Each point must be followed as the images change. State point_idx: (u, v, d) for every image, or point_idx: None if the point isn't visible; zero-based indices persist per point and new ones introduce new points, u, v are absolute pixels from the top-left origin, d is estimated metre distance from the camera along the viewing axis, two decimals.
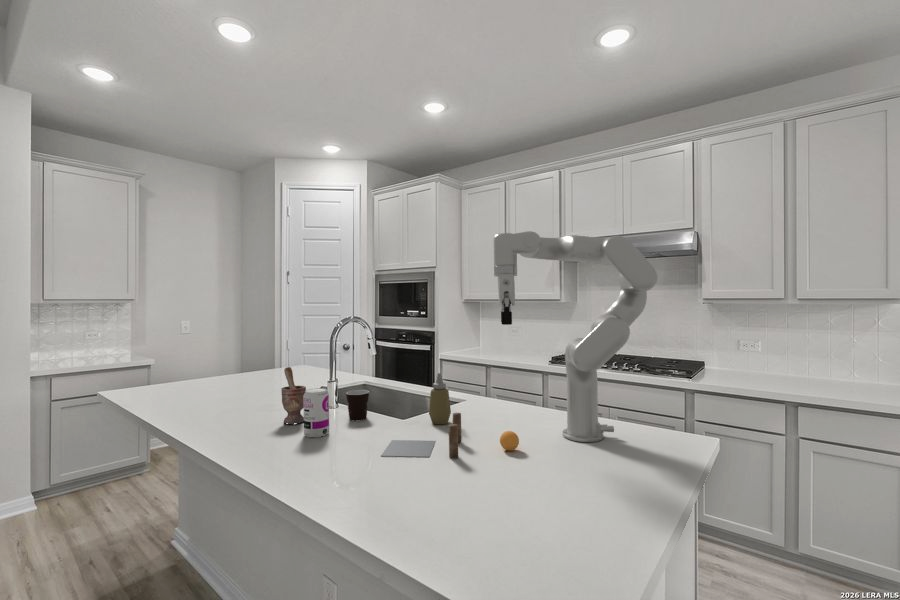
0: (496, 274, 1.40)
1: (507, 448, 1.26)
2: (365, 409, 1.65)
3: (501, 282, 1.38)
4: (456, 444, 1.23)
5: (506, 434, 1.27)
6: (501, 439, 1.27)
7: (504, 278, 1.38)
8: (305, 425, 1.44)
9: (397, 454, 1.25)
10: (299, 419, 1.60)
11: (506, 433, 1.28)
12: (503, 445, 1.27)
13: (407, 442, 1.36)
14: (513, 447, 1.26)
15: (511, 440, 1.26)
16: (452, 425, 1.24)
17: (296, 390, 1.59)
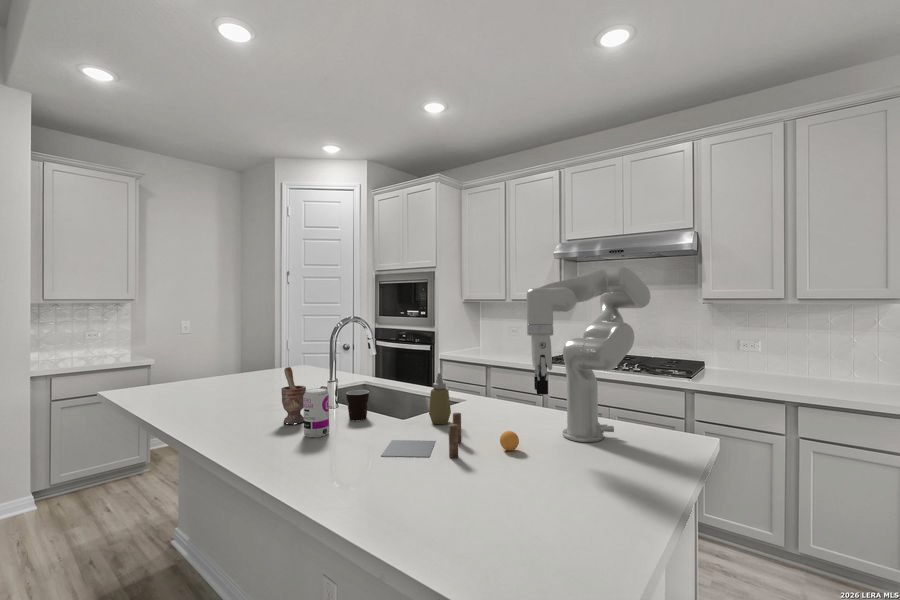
0: (530, 334, 1.26)
1: (507, 448, 1.26)
2: (365, 409, 1.65)
3: (536, 344, 1.23)
4: (456, 444, 1.23)
5: (506, 434, 1.27)
6: (501, 439, 1.27)
7: (540, 340, 1.23)
8: (305, 425, 1.44)
9: (397, 454, 1.25)
10: (299, 419, 1.60)
11: (506, 433, 1.28)
12: (503, 445, 1.27)
13: (407, 442, 1.36)
14: (513, 447, 1.26)
15: (511, 440, 1.26)
16: (452, 425, 1.24)
17: (296, 390, 1.59)
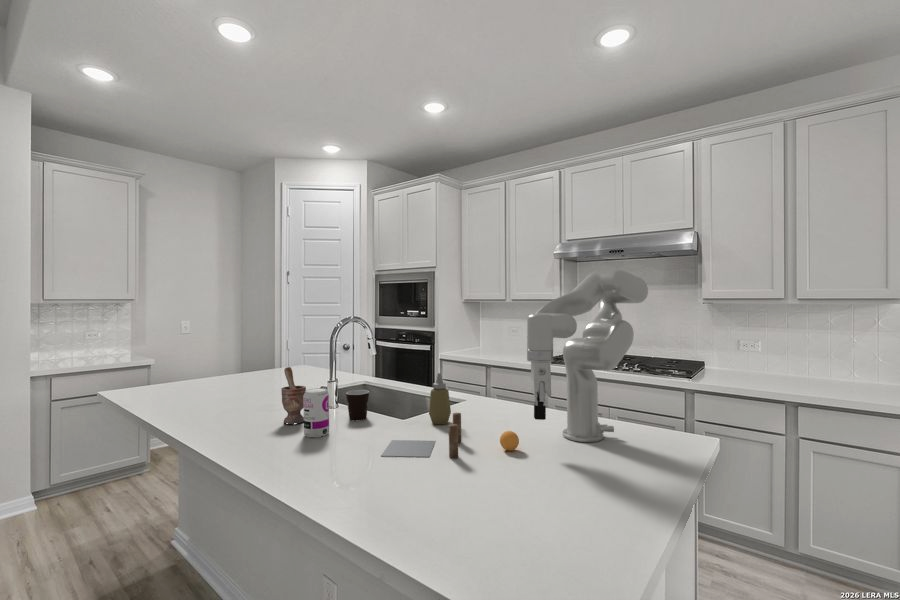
0: (530, 360, 1.26)
1: (507, 448, 1.26)
2: (365, 409, 1.65)
3: (536, 370, 1.23)
4: (456, 444, 1.23)
5: (506, 434, 1.27)
6: (501, 439, 1.27)
7: (539, 366, 1.23)
8: (305, 425, 1.44)
9: (397, 454, 1.25)
10: (299, 419, 1.60)
11: (506, 433, 1.28)
12: (503, 445, 1.27)
13: (407, 442, 1.36)
14: (513, 447, 1.26)
15: (511, 440, 1.26)
16: (452, 425, 1.24)
17: (296, 390, 1.59)
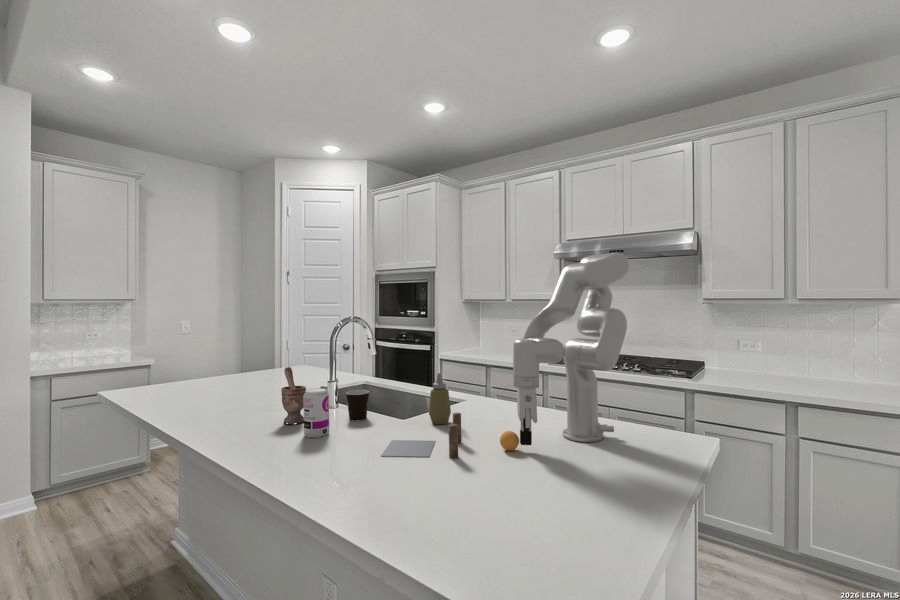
0: (516, 386, 1.26)
1: (507, 448, 1.26)
2: (365, 409, 1.65)
3: (522, 397, 1.23)
4: (456, 444, 1.23)
5: (506, 434, 1.27)
6: (501, 439, 1.27)
7: (525, 393, 1.23)
8: (305, 425, 1.44)
9: (397, 454, 1.25)
10: (299, 419, 1.60)
11: (506, 433, 1.28)
12: (503, 445, 1.27)
13: (407, 442, 1.36)
14: (513, 447, 1.26)
15: (511, 440, 1.26)
16: (452, 425, 1.24)
17: (296, 390, 1.59)
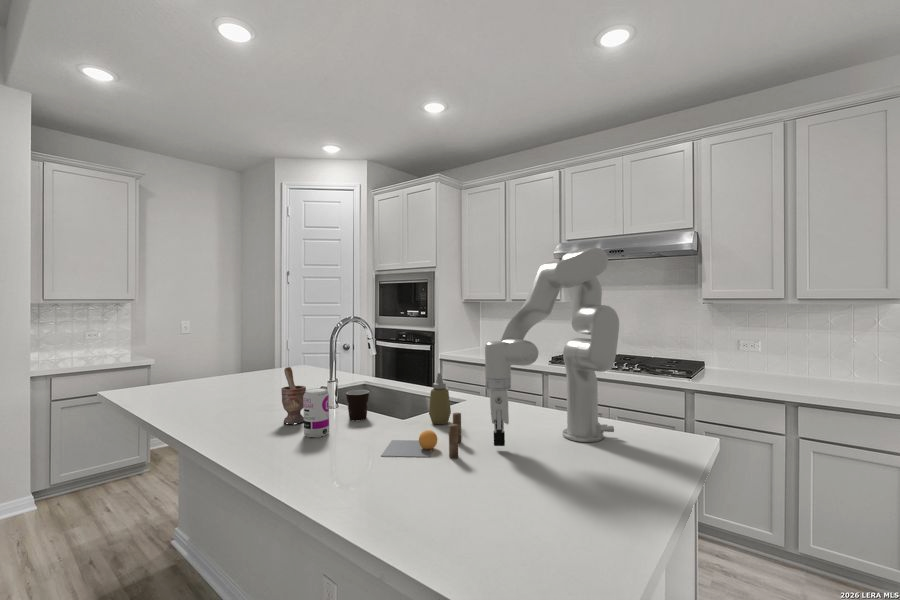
0: (488, 388, 1.27)
1: (432, 441, 1.28)
2: (365, 409, 1.65)
3: (493, 399, 1.24)
4: (456, 444, 1.23)
5: (422, 447, 1.29)
6: (429, 449, 1.29)
7: (496, 394, 1.24)
8: (305, 425, 1.44)
9: (397, 454, 1.25)
10: (299, 419, 1.60)
11: (422, 447, 1.30)
12: (432, 445, 1.28)
13: (407, 442, 1.36)
14: (428, 436, 1.28)
15: (423, 442, 1.28)
16: (452, 425, 1.24)
17: (296, 390, 1.59)
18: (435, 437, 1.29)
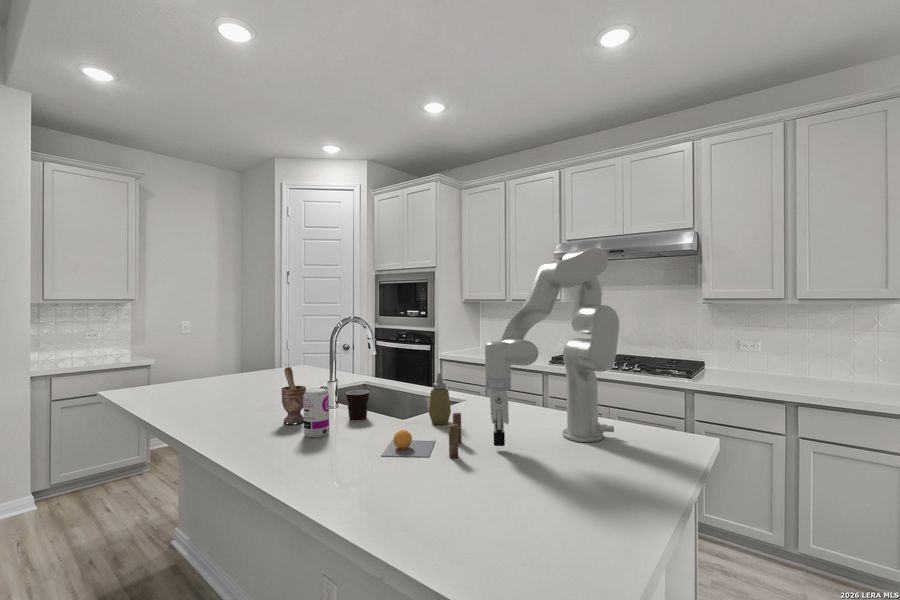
0: (488, 388, 1.27)
1: (395, 440, 1.29)
2: (365, 409, 1.65)
3: (493, 399, 1.24)
4: (456, 444, 1.23)
5: (408, 437, 1.29)
6: (402, 432, 1.30)
7: (496, 394, 1.24)
8: (305, 425, 1.44)
9: (397, 454, 1.25)
10: (299, 419, 1.60)
11: (409, 436, 1.30)
12: (397, 436, 1.29)
13: None
14: (397, 446, 1.29)
15: (403, 443, 1.28)
16: (452, 425, 1.24)
17: (296, 390, 1.59)
18: (393, 440, 1.30)
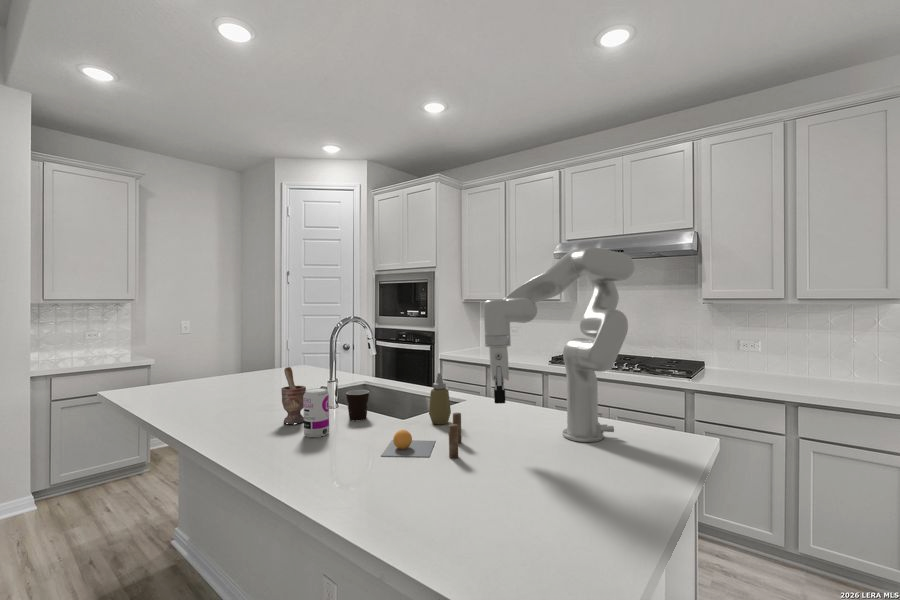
0: (487, 345, 1.27)
1: (395, 440, 1.29)
2: (365, 409, 1.65)
3: (493, 355, 1.24)
4: (456, 444, 1.23)
5: (408, 437, 1.29)
6: (402, 432, 1.30)
7: (496, 351, 1.24)
8: (305, 425, 1.44)
9: (397, 454, 1.25)
10: (299, 419, 1.60)
11: (409, 436, 1.30)
12: (397, 436, 1.29)
13: None
14: (397, 446, 1.29)
15: (403, 443, 1.28)
16: (452, 425, 1.24)
17: (296, 390, 1.59)
18: (393, 440, 1.30)
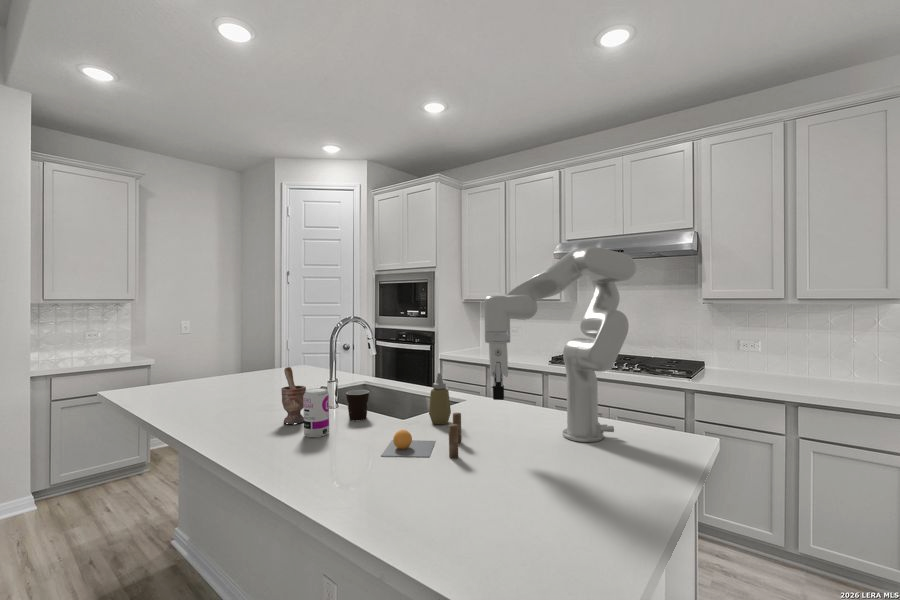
0: (487, 341, 1.27)
1: (395, 440, 1.29)
2: (365, 409, 1.65)
3: (492, 351, 1.24)
4: (456, 444, 1.23)
5: (408, 437, 1.29)
6: (402, 432, 1.30)
7: (496, 347, 1.24)
8: (305, 425, 1.44)
9: (397, 454, 1.25)
10: (299, 419, 1.60)
11: (409, 436, 1.30)
12: (397, 436, 1.29)
13: None
14: (397, 446, 1.29)
15: (403, 443, 1.28)
16: (452, 425, 1.24)
17: (296, 390, 1.59)
18: (393, 440, 1.30)
